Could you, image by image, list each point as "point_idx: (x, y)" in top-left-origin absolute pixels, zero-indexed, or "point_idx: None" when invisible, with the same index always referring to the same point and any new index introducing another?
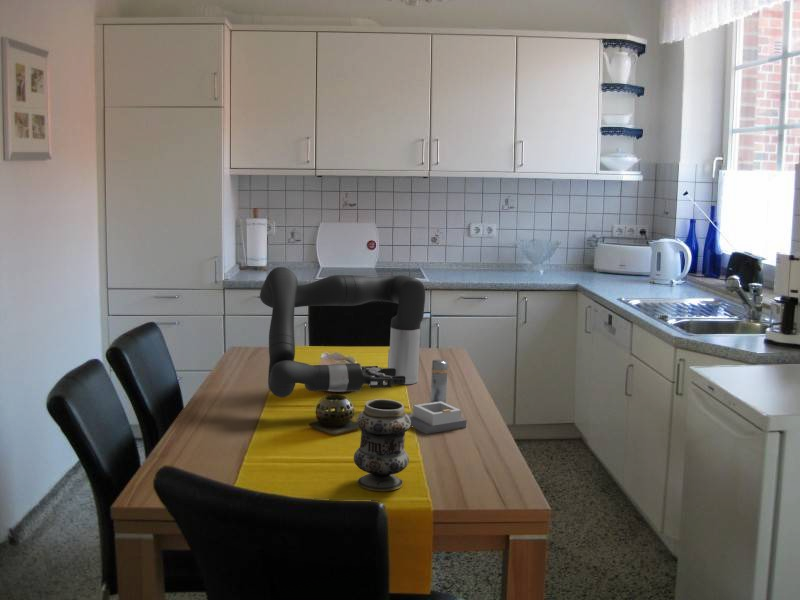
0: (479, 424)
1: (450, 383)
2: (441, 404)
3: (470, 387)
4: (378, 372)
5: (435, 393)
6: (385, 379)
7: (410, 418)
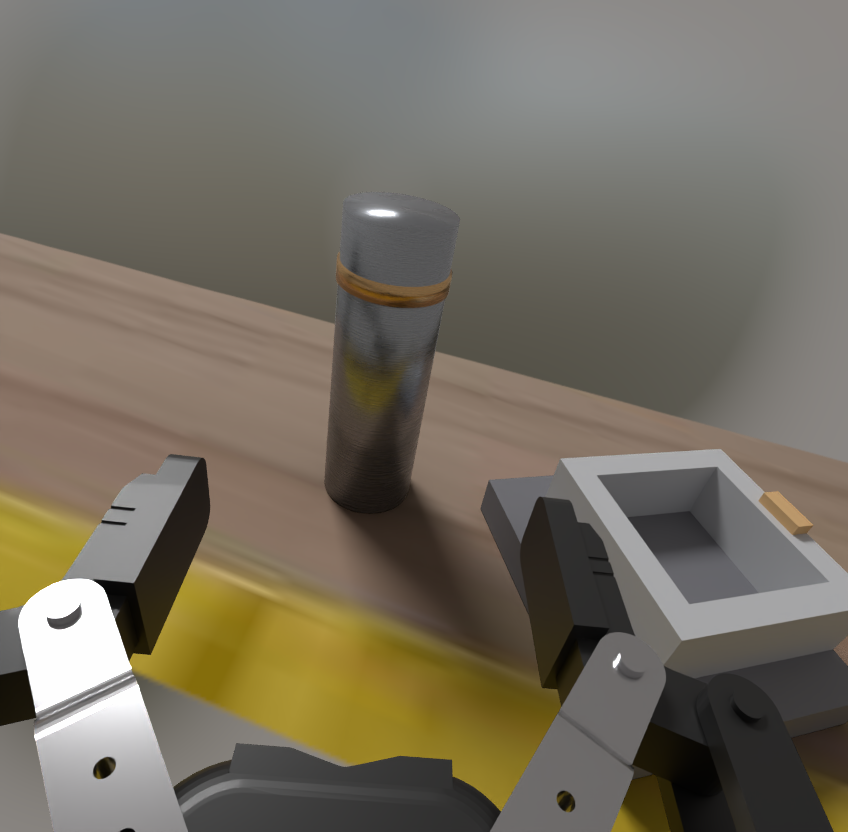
0: (605, 439)
1: (5, 297)
2: (607, 478)
3: (117, 283)
4: (512, 812)
5: (411, 424)
6: (817, 811)
7: None
